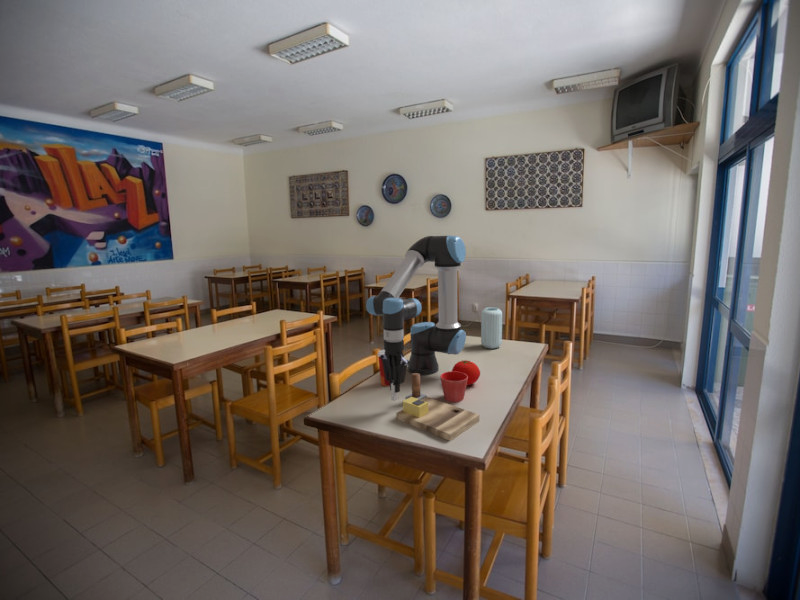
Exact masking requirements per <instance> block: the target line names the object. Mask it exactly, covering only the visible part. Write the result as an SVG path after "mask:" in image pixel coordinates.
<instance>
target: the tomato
mask: <svg viewBox="0 0 800 600" xmlns="http://www.w3.org/2000/svg"><path fill="white" fill-rule="evenodd" d="M451 369H452V370H451V371H457V372H462V373H464V374H466V375H467V376H468V380H467V385H466V386H470V385H473V384H475V383H476V382H477V381H478V380H479V378H480V376H481V370H480V368H479V366H478V364H476V362H475V363H474V362H473V361H471V360H463V359H461V361H458V362H456V363H455V364H454V365H453V367H452V368H451Z"/></svg>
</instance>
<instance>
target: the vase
mask: <svg viewBox="0 0 800 600" xmlns="http://www.w3.org/2000/svg"><path fill="white" fill-rule="evenodd" d="M480 319H481V323H480V324H481V325H480V326H481V327H480V328H481V330H480V331H481V332H480V342H481V344H482V346H483V347H484V348H487V349H489V350H490V349H491V350H492V349H498V348H499V347H501V346H502V344H503V341H502V340H503V339H502V338H503V311H502V310H501V309H500V308H499V307H491V306H490V307H485V308H483V309H482V310H481V316H480Z"/></svg>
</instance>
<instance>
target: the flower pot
mask: <svg viewBox="0 0 800 600" xmlns="http://www.w3.org/2000/svg"><path fill="white" fill-rule="evenodd" d="M439 376H440V382H441V388H442V392H443V395H444V396H443V397H444V400H446V401H447V402H451V403H459V402H462V401H463V400H464V397H465V396H466V395H465V394H466V389H467V386H468V385H467V380H468V376H467V375H466V374H464V373H462V372H457V371H452V370H451V371H446V372H443V373H441V374H440V375H439Z"/></svg>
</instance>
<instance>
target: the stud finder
mask: <svg viewBox="0 0 800 600" xmlns="http://www.w3.org/2000/svg"><path fill="white" fill-rule="evenodd" d="M402 410H403V412H406V413H409V414H411V415H414V416H416V417H419V418H420V417H422V416H424V415H425V414H427V413H428V402H425V401H422V400H419V399H417V398H414V397H410V398H408V399H406V398H405V399H404V400H403V401H402Z"/></svg>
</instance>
